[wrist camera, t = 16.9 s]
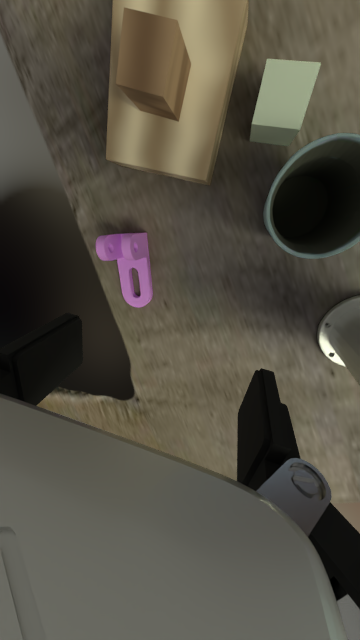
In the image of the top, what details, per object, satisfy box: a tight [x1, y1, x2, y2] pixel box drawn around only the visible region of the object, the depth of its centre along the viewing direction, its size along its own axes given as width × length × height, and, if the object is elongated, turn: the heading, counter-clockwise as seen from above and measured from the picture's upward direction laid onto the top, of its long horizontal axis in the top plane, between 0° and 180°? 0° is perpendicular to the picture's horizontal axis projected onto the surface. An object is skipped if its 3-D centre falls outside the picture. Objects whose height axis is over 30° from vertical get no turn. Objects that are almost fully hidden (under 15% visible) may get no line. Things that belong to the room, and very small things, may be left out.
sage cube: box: [250, 59, 321, 146], centre depth 25 cm, size 5×5×6 cm
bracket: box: [96, 233, 153, 307], centre depth 37 cm, size 13×6×7 cm, turn 3°
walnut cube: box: [116, 7, 191, 122], centre depth 23 cm, size 5×5×6 cm
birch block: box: [106, 0, 248, 185], centre depth 28 cm, size 14×16×5 cm
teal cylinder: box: [263, 133, 360, 259], centre depth 26 cm, size 10×10×12 cm
